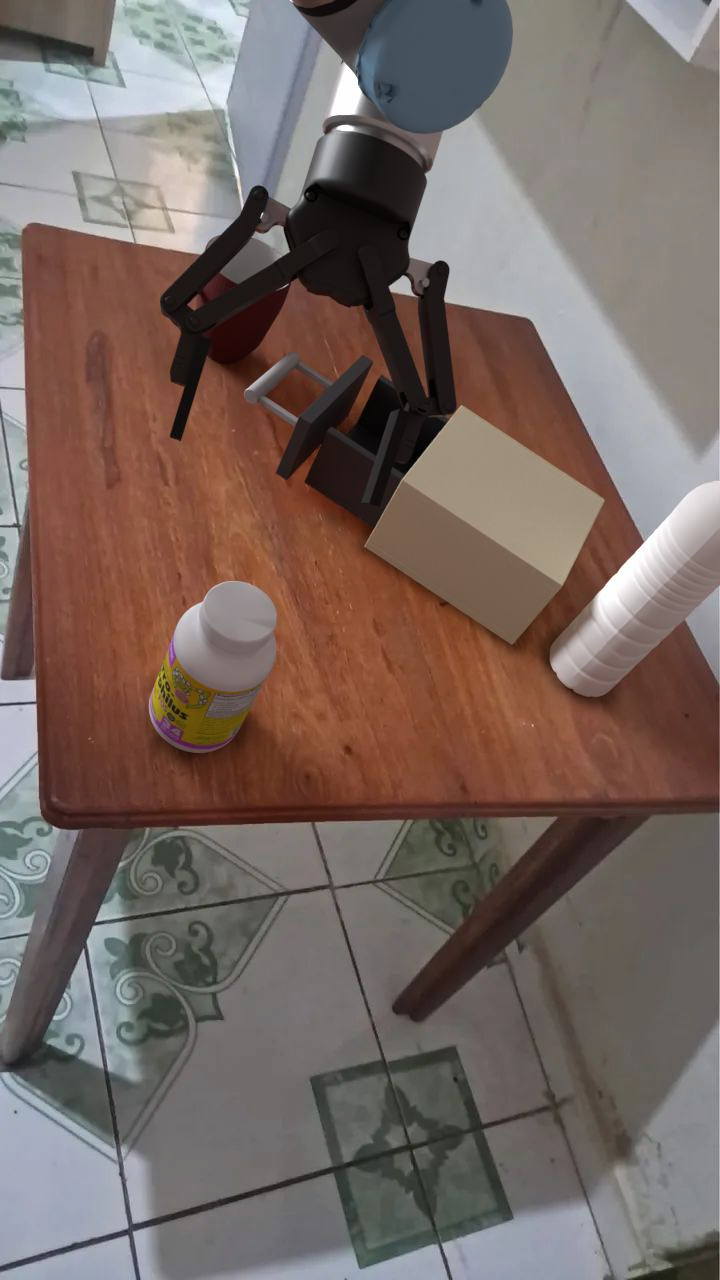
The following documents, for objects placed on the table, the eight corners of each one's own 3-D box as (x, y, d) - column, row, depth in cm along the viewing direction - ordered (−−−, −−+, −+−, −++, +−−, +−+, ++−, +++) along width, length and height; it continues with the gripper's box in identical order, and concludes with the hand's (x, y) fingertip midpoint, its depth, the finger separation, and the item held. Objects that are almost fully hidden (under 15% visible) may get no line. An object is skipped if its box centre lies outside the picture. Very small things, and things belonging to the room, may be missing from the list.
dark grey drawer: (219, 436, 84) (239, 376, 79) (287, 376, 92) (309, 318, 87) (412, 564, 83) (445, 513, 78) (462, 492, 92) (495, 441, 87)
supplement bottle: (136, 681, 68) (174, 569, 58) (224, 671, 71) (274, 563, 61) (159, 764, 64) (203, 660, 55) (250, 750, 68) (307, 649, 58)
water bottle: (534, 645, 84) (713, 442, 66) (585, 631, 88) (769, 436, 69) (587, 728, 81) (791, 538, 62) (638, 710, 84) (846, 527, 66)
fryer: (363, 546, 84) (402, 479, 77) (423, 470, 93) (461, 404, 86) (512, 645, 83) (562, 586, 77) (557, 559, 92) (605, 499, 86)
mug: (178, 385, 87) (203, 294, 80) (143, 326, 90) (164, 232, 83) (276, 376, 93) (308, 290, 85) (240, 321, 96) (268, 233, 88)
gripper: (187, 47, 55) (82, 403, 57) (568, 214, 61) (462, 532, 62) (185, 99, 62) (92, 413, 64) (525, 244, 68) (431, 528, 70)
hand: (275, 473), depth 63 cm, fingers open, 13 cm apart
